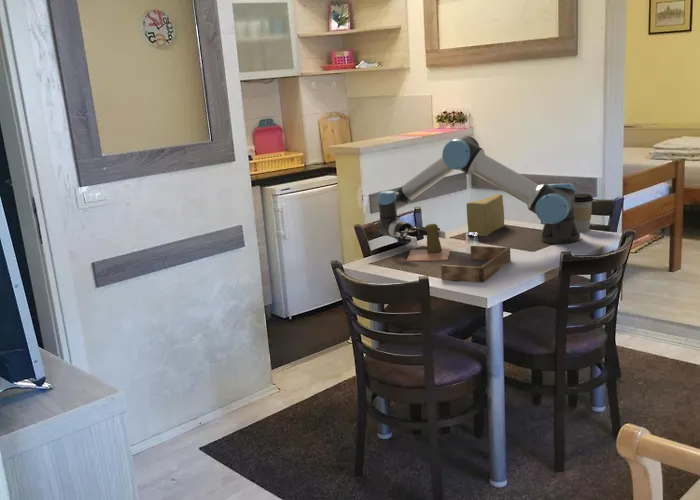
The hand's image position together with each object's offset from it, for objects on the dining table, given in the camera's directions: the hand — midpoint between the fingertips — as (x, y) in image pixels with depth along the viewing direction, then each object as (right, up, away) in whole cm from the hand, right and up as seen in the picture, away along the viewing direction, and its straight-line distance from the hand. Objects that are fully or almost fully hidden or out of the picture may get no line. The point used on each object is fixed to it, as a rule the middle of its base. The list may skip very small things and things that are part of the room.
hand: (430, 238), depth 269 cm
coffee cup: (+67, +4, +22) cm, 70 cm away
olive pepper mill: (+2, -5, +7) cm, 9 cm away
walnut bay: (+14, -12, -21) cm, 28 cm away
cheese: (+31, +4, +36) cm, 48 cm away
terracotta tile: (0, -7, +4) cm, 8 cm away
